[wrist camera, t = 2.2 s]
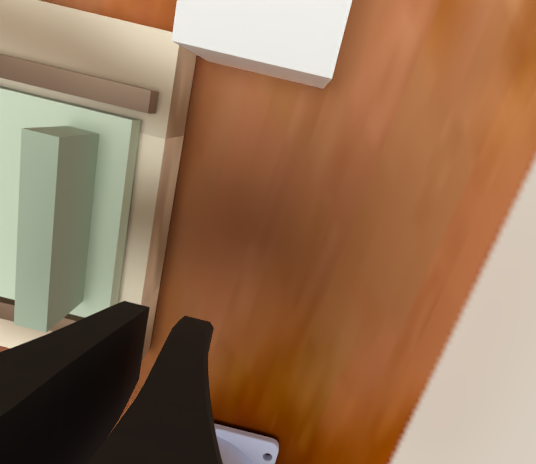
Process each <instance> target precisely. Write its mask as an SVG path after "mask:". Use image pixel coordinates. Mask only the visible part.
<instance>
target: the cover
mask: <svg viewBox="0 0 536 464" xmlns="http://www.w3.org/2000/svg"><path fill="white" fill-rule="evenodd" d="M140 123H141V120H139V119H135V118H131V117H127V116H123V115H119V114H115V113H110V112H106V111H102V110H98V109H94V108H90V107H86V106H82V105H77V104H73V103H69V102H65V101H61V100H57V99H53V98H49V97H44V96H40V95H36V94H32V93H28V92H24V91H20V90H15V89H11V88H7V87H3V86H0V296H1V297H5V298H9V299H13V300H15V308H14V325H17V326H21V327H25V328H29V329H33V330H37V331H41V332H45V333H46V332H47V331H49V330H50V329H51V328H52V327H53V326H55V325H56V324H57V323H58V322H59V321H60V320H62V319H63V318H64V317H65V316H66V315H67V314H73V315H77V316H81V317H85V318H86V317H88V316H90V315H92V314H95V313H97V312H99V311H101V310H104V309H106V308H108V307H110V306H113V305H115V304H118V296H119V289H120V281H121V273H122V265H123V257H124V249H125V241H126V233H127V225H128V218H129V210H130V202H131V194H132V186H133V178H134V170H135V162H136V155H137V147H138V139H139V131H140Z"/></svg>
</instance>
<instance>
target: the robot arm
mask: <svg viewBox="0 0 536 464" xmlns="http://www.w3.org/2000/svg"><path fill="white" fill-rule="evenodd" d="M149 309H150V307H147V306H143V305H139V304H135V303H131V302H127V301H123V302H120V303H118V304H115V305H113V306H110V307H108V308H106V309H104V310H101V311H99V312H97V313H95V314H92V315H90V316H88V317H86V318H83V319H81V320H79V321H76V322H74V323H72V324H70V325H67V326H65V327H63V328H60V329H58V330H56V331H53V332H51V333H49V334H46V335H44V336H41V337H39V338H36V339H33V340H31V341H28V342H26V343H23V344H20V345H18V346H15V347H13V348H10V349H7V350H5V351H2V352H0V464H275V462H276V458H277V455H278V452H279V443H278V441H277V440H275V439H273V438H270V437H266V436H262V435H258V434H254V433H250V432H246V431H242V430H239V429H235V428H231V427H227V426H223V425H219V424H215V423H214V421H213V415H212V407H211V400H210V391H209V377H208V352H209V347H210V343H211V338H212V333H213V329H214V328H213V326H212V324H211V323H210V322H208V321H204V320H200V319H196V318H192V317H188V316H184V317H183V318H182V319H181V320H179V321H178V323H177V324H176V325H175V326H174V327H173V328H172V330H171V332H170V334H169V336H168V338H167V340H166V342H165V344H164V346H163V348H162V350H161V352H160V354H159V356H158V358H157V360H156V362H155V364H154V366H153V368H152V370H151V372H150V374H149V376H148V378H147V380H146V382H145V384H144V385H143V387H142V389H141V391H140V392H139V394H138V396H137V397H136V399H135V400H134V402H133V403H132V405H131V406H130V407H129V409H128V410H127V411H126V413H125V414H124V416H123V417H122V418H121V420H120V421H119V422H118V424H117V425H116V427H115V428H114V426H115V424H116V423H117V421H118V420H119V418H120V416H121V414H122V412H123V410H124V408H125V406H126V404H127V402H128V400H129V398H130V396H131V394H132V392H133V390H134V388H135V386H136V384H137V382H138V380H139V374H140V367H141V361H142V355H143V348H144V342H145V335H146V329H147V322H148V316H149ZM113 428H114V429H113ZM112 429H113V431H112ZM111 431H112V432H111ZM110 432H111V433H110ZM109 434H110V435H109ZM108 435H109V436H108ZM266 453H269V454H271V455H266Z"/></svg>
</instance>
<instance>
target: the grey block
mask: <svg viewBox="0 0 536 464" xmlns="http://www.w3.org/2000/svg"><path fill="white" fill-rule="evenodd" d="M351 3H352V0H177V5H176V12H175V19H174V26H173V33H172V40H171V41H173V42H175V43H176V44H178V45H180V46H182V47H183V48H185V49H187V50H189V51H190V52H192V53H194V54H196V55H197V56H199V57H201V58H203V59H205V60H206V61H208V62H212V63H216V64H221V65H225V66H229V67H233V68H237V69H242V70H246V71H250V72H254V73H258V74H263V75H267V76H271V77H275V78H280V79H284V80H288V81H292V82H296V83H301V84H305V85H309V86H313V87H317V88H322V89H324V88H325V86H326V85H327V84H328V83H329V82H330V80H331V79H332V77H333V73H334V69H335V65H336V61H337V57H338V53H339V49H340V46H341V42H342V38H343V34H344V30H345V26H346V22H347V18H348V15H349V11H350V7H351Z"/></svg>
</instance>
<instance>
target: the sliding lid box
mask: <svg viewBox="0 0 536 464" xmlns="http://www.w3.org/2000/svg"><path fill="white" fill-rule="evenodd" d="M172 33H173V32H169V31H165V30H161V29H157V28H152V27H148V26H144V25H140V24H136V23H131V22H127V21H123V20H119V19H115V18H110V17H106V16H102V15H98V14H94V13H89V12H85V11H81V10H77V9H73V8H69V7H64V6H60V5H56V4H52V3H48V2H43V1H39V0H0V86H3V87H7V88H11V89H15V90H20V91H24V92H28V93H32V94H36V95H40V96H44V97H49V98H53V99H57V100H61V101H65V102H69V103H73V104H77V105H82V106H86V107H90V108H94V109H98V110H102V111H106V112H110V113H115V114H119V115H123V116H127V117H131V118H135V119H139V120H141V123H140V131H139V139H138V147H137V155H136V162H135V170H134V178H133V186H132V194H131V202H130V210H129V218H128V225H127V233H126V241H125V249H124V257H123V265H122V273H121V281H120V289H119V296H118V303H120V302H123V301H127V302H131V303H135V304H139V305H143V306H147V307H150V309H149V316H148V322H147V329H146V335H145V342H144V348H143V355H142V359H143V358H144V356H145V355H146V353H147V352H148V350H149V349H150V344H151V338H152V332H153V325H154V319H155V313H156V307H157V300H158V294H159V288H160V282H161V275H162V269H163V263H164V257H165V251H166V244H167V238H168V232H169V226H170V219H171V213H172V207H173V201H174V194H175V188H176V182H177V176H178V170H179V163H180V157H181V151H182V145H183V138H184V132H185V126H186V120H187V113H188V107H189V101H190V95H191V89H192V82H193V76H194V70H195V64H196V57H197V55H196V54H194V53H192V52H190V51H189V50H187V49H185V48H183V47H182V46H180V45H178V44H176V43H175V42H173V41H171V40H172ZM14 308H15V300H13V299H9V298H5V297H1V296H0V346H4V347H8V348H13V347H15V346H18V345H20V344H23V343H26V342H28V341H31V340H33V339H36V338H39V337H41V336H44V335H46V334H49V333H51V332H53V331H56V330H58V329H60V328H63V327H65V326H67V325H70V324H72V323H74V322H76V321H79V320H81V319H83V318H85V317H81V316H77V315H73V314H67V315H66V316H65V317H64V318H63V319H62V320H60V321H59V322H58V323H57V324H56V325H55V326H53V327H52V328H51V329H50V330H49V331H47V332H46V333H45V332H41V331H37V330H33V329H29V328H25V327H21V326H17V325H14Z"/></svg>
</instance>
